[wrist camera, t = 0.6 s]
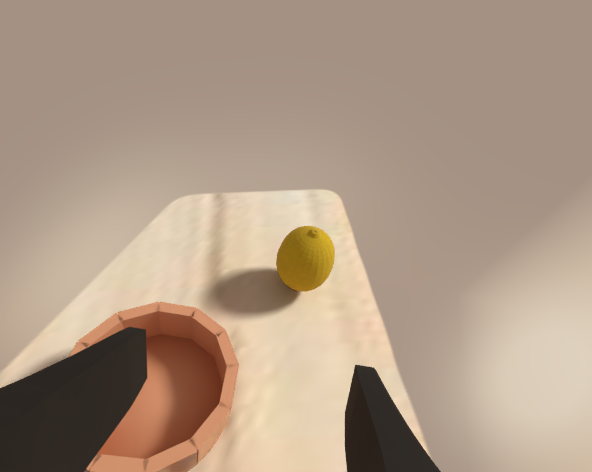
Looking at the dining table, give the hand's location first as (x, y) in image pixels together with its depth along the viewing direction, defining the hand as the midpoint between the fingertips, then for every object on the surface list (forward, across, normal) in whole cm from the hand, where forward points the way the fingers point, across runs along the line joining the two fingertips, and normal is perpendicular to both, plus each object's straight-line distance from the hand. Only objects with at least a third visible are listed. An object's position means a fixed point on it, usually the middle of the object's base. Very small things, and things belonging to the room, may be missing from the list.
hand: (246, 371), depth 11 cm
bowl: (+10, +8, +12) cm, 18 cm away
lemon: (+23, 0, +8) cm, 24 cm away
